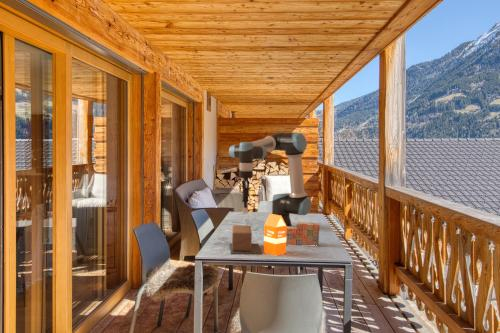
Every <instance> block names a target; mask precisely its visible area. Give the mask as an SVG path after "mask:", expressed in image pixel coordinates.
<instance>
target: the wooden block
mask: <svg viewBox="0 0 500 333" xmlns="http://www.w3.org/2000/svg"><path fill="white" fill-rule="evenodd" d="M231 230H232V233H231V236H232V237H231V243H232V251H251V244H253V242H252V238H253V237H252V235H253V234H252V228H251V225H233V226H232V229H231Z"/></svg>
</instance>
